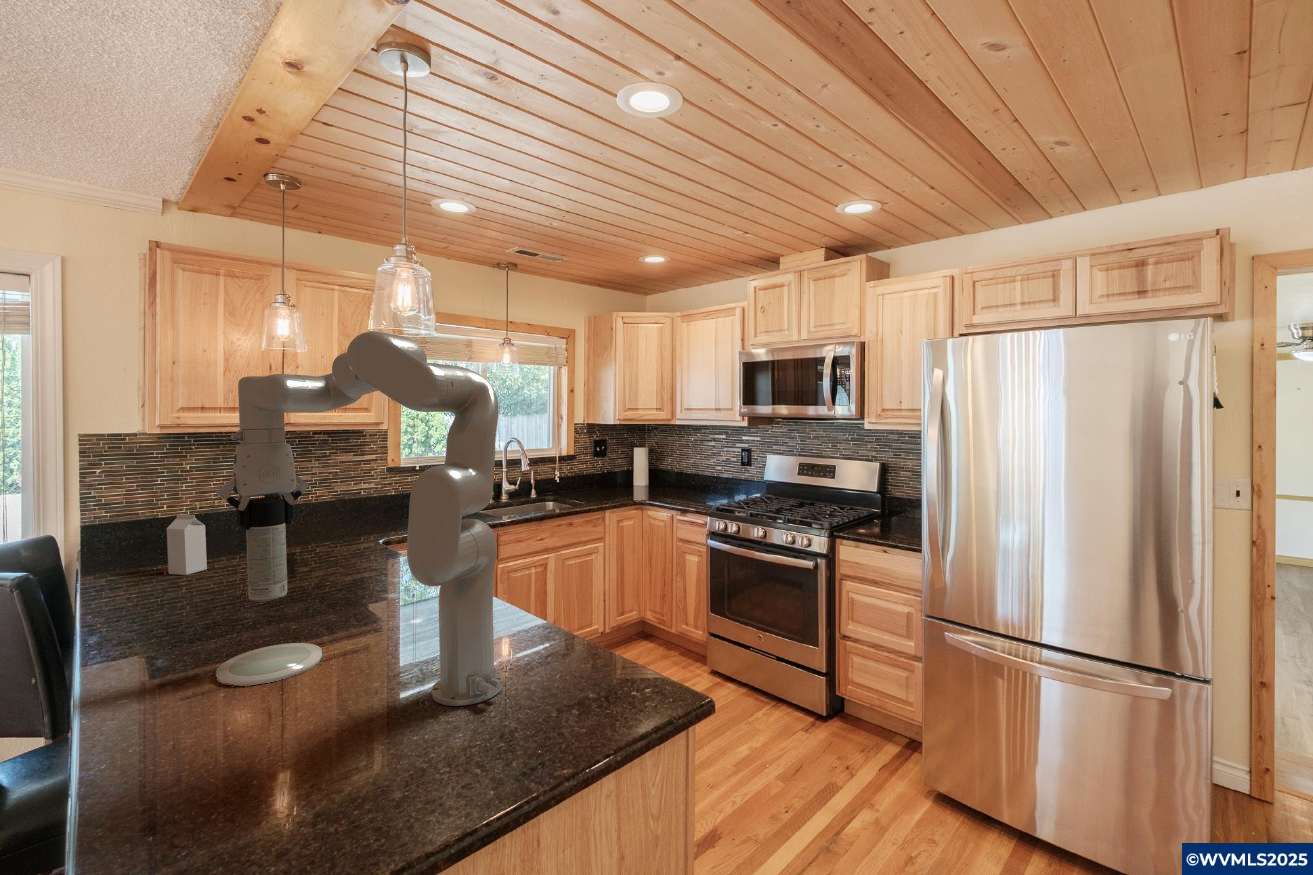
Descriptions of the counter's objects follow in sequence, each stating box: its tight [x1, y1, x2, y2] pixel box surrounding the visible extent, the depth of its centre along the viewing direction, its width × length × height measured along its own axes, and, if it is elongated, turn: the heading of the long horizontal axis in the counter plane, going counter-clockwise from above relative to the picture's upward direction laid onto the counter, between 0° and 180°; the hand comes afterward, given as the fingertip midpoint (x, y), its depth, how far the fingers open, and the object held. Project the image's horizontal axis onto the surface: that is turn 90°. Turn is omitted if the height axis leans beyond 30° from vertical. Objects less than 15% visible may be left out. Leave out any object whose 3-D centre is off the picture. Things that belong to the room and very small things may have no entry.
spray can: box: [245, 497, 288, 603], centre depth 119 cm, size 7×7×20 cm
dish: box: [215, 642, 323, 685], centre depth 119 cm, size 18×18×1 cm
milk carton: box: [166, 514, 208, 576], centre depth 192 cm, size 7×7×19 cm
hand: (266, 525), depth 118 cm, fingers closed on spray can, 6 cm apart
